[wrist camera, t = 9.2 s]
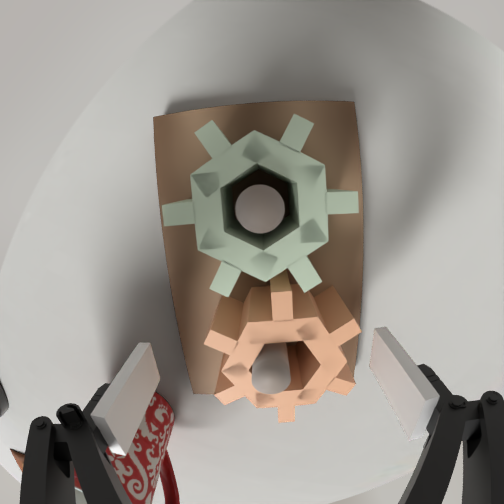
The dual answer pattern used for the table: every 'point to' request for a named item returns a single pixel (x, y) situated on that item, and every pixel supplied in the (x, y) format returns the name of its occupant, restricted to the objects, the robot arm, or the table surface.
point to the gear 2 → (283, 330)
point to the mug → (145, 458)
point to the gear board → (205, 267)
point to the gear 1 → (290, 229)
